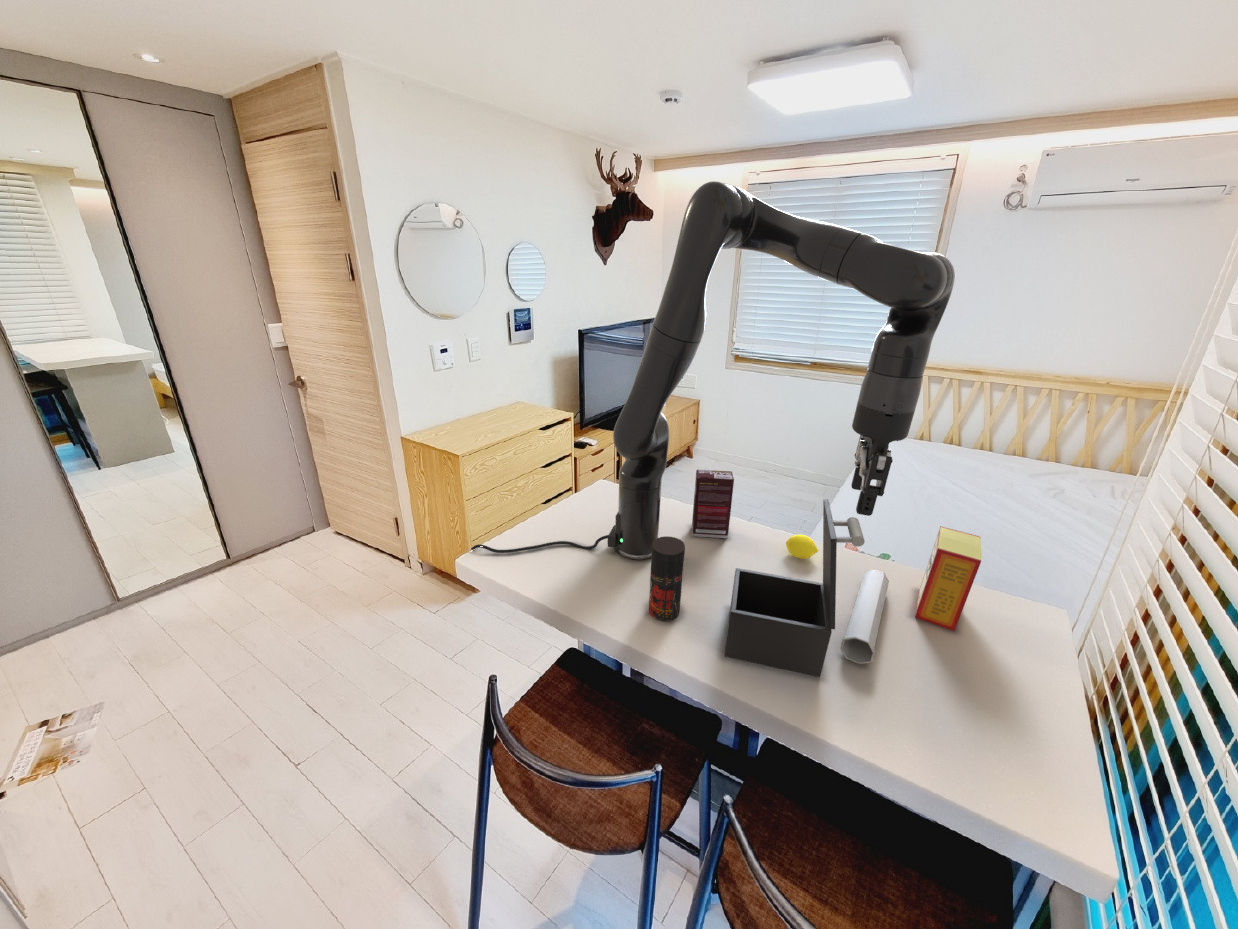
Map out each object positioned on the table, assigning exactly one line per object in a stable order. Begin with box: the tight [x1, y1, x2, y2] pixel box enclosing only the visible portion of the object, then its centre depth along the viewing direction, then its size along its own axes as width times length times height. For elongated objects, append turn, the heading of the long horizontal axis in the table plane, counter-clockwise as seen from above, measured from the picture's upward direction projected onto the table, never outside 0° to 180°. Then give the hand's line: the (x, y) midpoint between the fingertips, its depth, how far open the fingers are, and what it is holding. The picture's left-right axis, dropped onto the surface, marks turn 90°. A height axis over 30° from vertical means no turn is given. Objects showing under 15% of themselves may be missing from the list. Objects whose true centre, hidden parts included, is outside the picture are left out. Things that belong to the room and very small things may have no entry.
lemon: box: [785, 534, 819, 560], centre depth 113 cm, size 7×5×5 cm
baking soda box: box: [914, 525, 982, 632], centre depth 95 cm, size 10×6×16 cm
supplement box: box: [691, 469, 735, 539], centre depth 119 cm, size 9×5×16 cm, turn 84°
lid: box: [822, 498, 865, 630], centre depth 80 cm, size 16×13×5 cm
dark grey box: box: [724, 567, 833, 678], centre depth 88 cm, size 16×13×10 cm
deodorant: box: [648, 535, 686, 623], centre depth 93 cm, size 6×6×15 cm
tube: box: [840, 569, 890, 665], centre depth 94 cm, size 5×5×25 cm
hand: (860, 500), depth 79 cm, fingers open, 8 cm apart
